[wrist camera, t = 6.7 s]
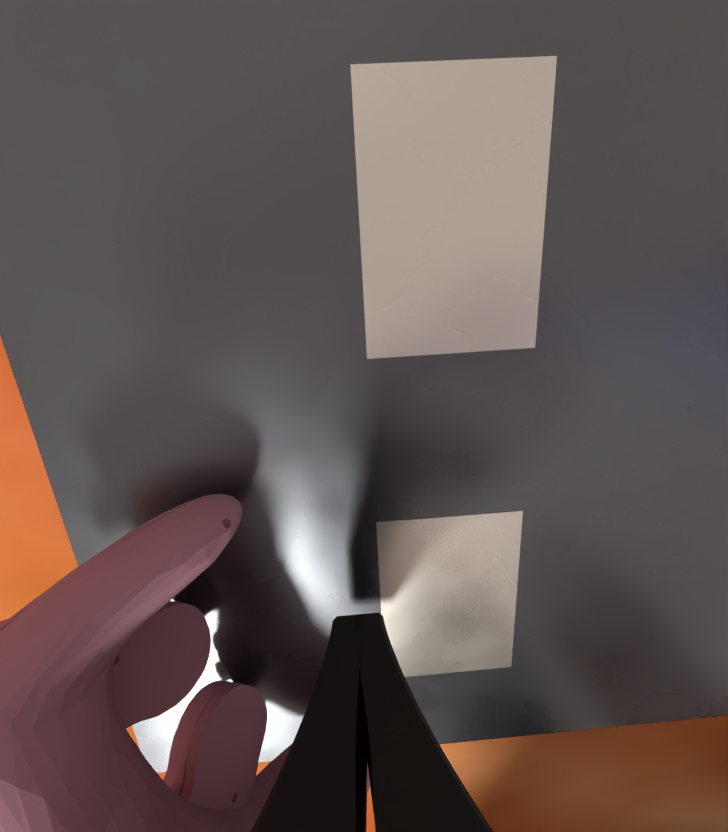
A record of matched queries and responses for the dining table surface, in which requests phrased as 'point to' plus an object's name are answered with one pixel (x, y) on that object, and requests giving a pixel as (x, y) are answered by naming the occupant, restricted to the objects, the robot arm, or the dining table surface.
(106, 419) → the panel
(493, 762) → the dining table surface
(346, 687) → the robot arm
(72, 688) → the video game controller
